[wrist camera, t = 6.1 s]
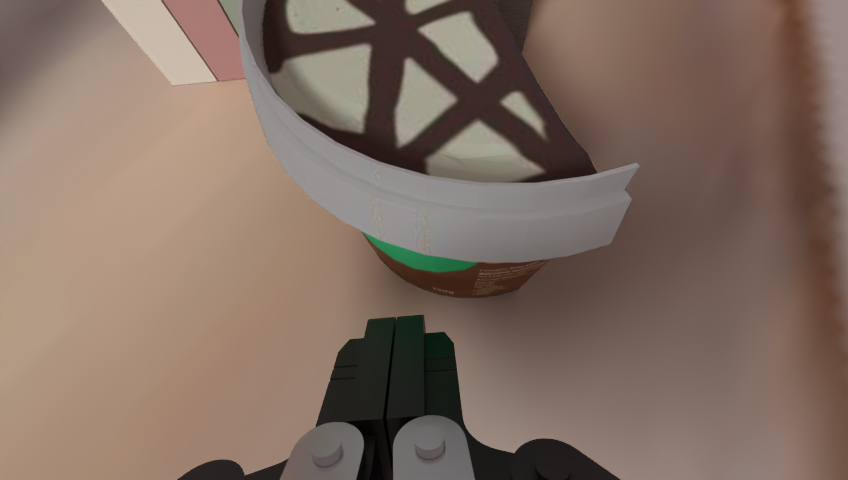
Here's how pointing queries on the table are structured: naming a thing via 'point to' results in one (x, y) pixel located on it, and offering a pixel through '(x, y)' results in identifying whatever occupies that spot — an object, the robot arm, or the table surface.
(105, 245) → the table surface
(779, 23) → the table surface
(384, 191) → the food container
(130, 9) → the row of books
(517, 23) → the bookend
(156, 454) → the table surface
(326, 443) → the robot arm
